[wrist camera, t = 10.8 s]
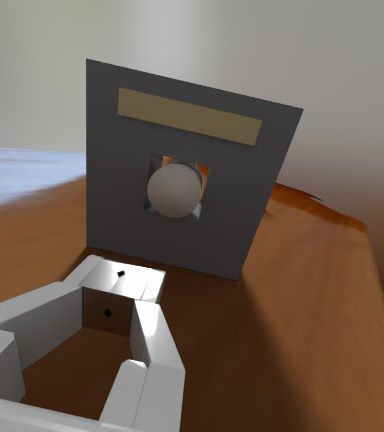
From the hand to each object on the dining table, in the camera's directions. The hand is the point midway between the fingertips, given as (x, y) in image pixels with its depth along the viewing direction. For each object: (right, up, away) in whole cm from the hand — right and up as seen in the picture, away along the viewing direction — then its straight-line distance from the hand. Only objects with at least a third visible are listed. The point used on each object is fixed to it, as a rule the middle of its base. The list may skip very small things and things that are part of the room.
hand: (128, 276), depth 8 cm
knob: (+1, +4, +16) cm, 17 cm away
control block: (-1, -2, +18) cm, 18 cm away
